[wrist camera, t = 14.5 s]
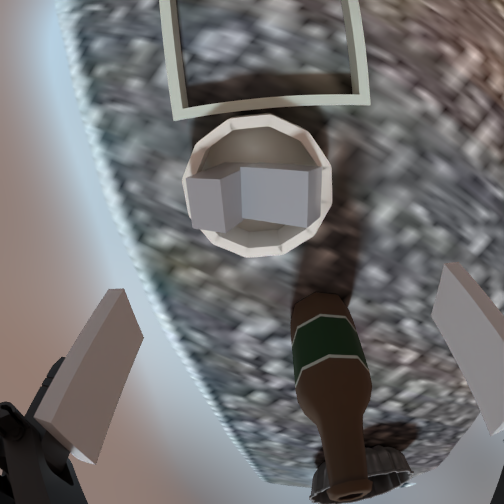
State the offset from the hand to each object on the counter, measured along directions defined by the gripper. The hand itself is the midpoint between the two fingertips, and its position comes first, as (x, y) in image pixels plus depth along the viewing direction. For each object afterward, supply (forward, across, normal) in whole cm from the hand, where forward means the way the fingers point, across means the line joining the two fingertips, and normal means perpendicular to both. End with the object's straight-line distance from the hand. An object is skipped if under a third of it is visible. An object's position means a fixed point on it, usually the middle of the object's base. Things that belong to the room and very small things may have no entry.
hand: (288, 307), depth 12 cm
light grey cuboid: (+17, -2, 0) cm, 18 cm away
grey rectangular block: (+19, -3, 0) cm, 20 cm away
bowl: (+21, -2, 0) cm, 21 cm away
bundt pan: (+21, +17, -71) cm, 76 cm away
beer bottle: (+21, +4, -18) cm, 28 cm away
